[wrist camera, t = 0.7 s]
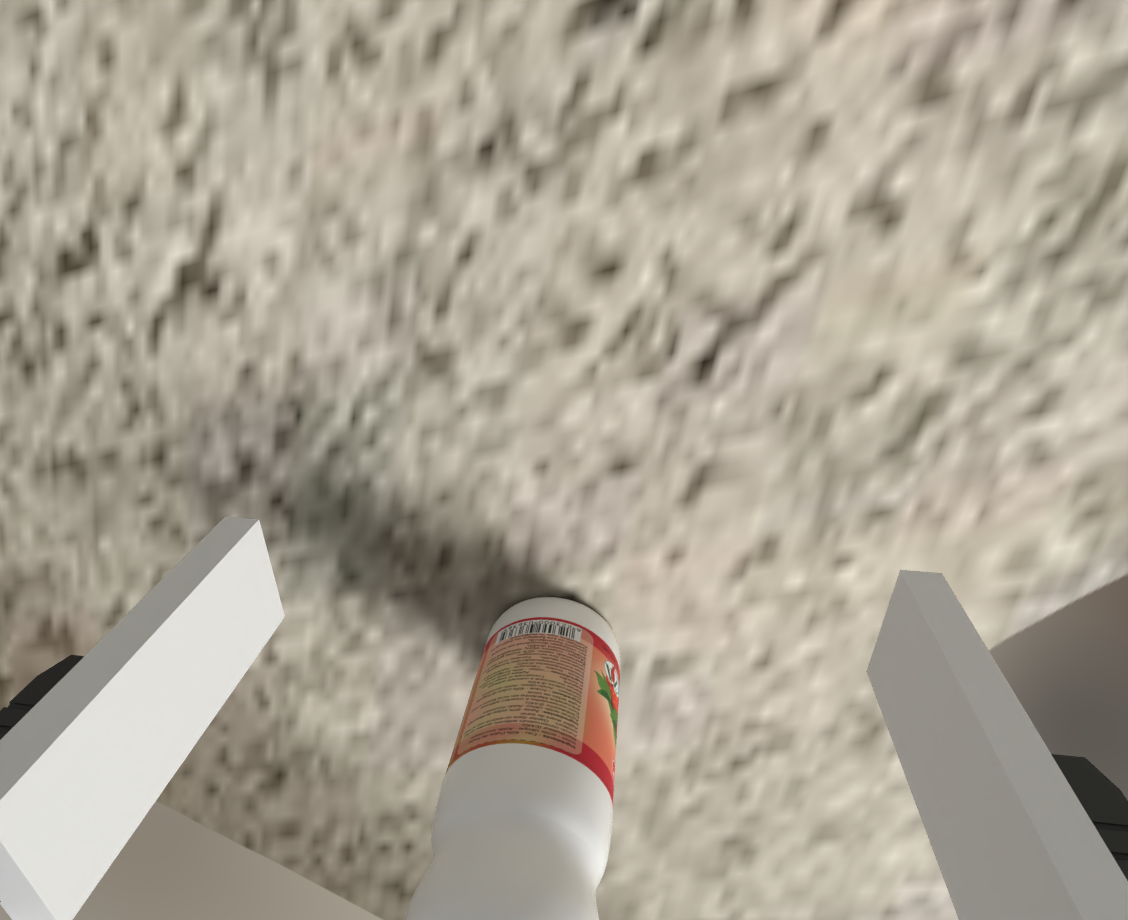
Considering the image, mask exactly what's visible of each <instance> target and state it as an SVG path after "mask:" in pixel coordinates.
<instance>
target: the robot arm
mask: <svg viewBox="0 0 1128 920" xmlns="http://www.w3.org/2000/svg"><path fill="white" fill-rule="evenodd" d="M284 617H285V616H284V612H283V608H282V604H281V601H280V597H279V593H278V589H277V585H276V582H275V578H274V574H273V570H272V566H271V563H270V559H269V555H268V551H267V547H266V544H265V540H264V536H263V532H262V528H261V525H260V521H259V519H249V518H237V517H224V518H223V519H222V520H221V521H220V522H219V523H218V524H217V525H216V526H215V527H214V528H213V529H212V530H211V531H210V532H209V533H208V534H207V535H206V536H205V537H204V538H203V539H202V540H201V541H200V542H199V543H198V544H197V545H196V546H195V547H194V548H193V549H192V550H191V551H190V552H189V553H188V554H187V555H186V556H185V557H184V558H183V559H182V560H181V561H180V562H179V563H178V564H177V565H176V566H175V567H174V568H173V569H172V570H171V571H170V572H169V573H168V574H167V575H166V576H165V577H164V578H163V579H162V580H161V581H160V582H159V583H158V584H157V585H156V586H155V587H154V588H153V589H152V590H151V591H150V592H149V593H148V594H147V595H146V596H145V597H144V598H143V599H142V600H141V601H140V602H139V603H138V604H137V605H136V606H135V607H134V608H133V609H132V610H131V611H130V612H129V613H128V614H127V615H126V616H125V617H124V618H123V619H122V620H121V621H120V622H119V623H118V624H117V625H116V626H115V627H114V628H113V629H112V630H111V631H110V632H109V633H108V634H106V635H105V636H104V637H103V638H102V639H101V640H100V641H99V642H98V643H97V644H96V645H95V646H94V647H93V648H92V649H91V650H90V651H89V652H88V653H87V654H86V655H85V656H77V655H70V656H69V657H67V658H65V659H64V660H62V661H61V662H59V663H57V664H56V665H54V666H53V667H51V668H49V669H48V670H46V671H45V672H43V673H41V674H40V675H38V676H37V677H36V678H35V679H33V680H32V681H31V682H30V683H29V684H28V685H27V686H26V687H25V688H24V689H23V690H22V691H21V692H20V693H19V694H18V695H17V696H16V697H14V698H13V699H12V700H11V701H10V705H9V706H8V707H7V708H5V707H4V708H3V709H2V710H1V711H0V904H1V905H2V907H3V908H4V909H5V911H6V912H7V913H8V915H9V916H10V917H11V919H12V920H73V918H74V917H75V915H76V913H77V912H78V911H79V910H80V908H81V907H82V905H83V904H84V902H85V901H86V900H87V898H88V897H89V895H90V894H91V892H92V891H93V890H94V888H95V887H96V885H97V884H98V882H99V881H100V879H101V878H102V877H103V875H104V874H105V872H106V871H107V870H108V868H109V867H110V865H111V864H112V862H113V861H114V860H115V858H116V857H117V855H118V854H119V852H120V851H121V850H122V848H123V847H124V845H125V844H126V843H127V841H128V840H129V838H130V837H131V835H132V834H133V832H134V831H135V830H136V828H137V827H138V825H139V824H140V823H141V821H142V820H143V818H144V817H145V815H146V814H147V813H148V811H149V810H150V808H151V807H152V805H153V804H154V803H155V801H156V800H157V798H158V797H159V795H160V794H161V793H162V791H163V790H164V788H165V787H166V785H167V784H168V783H169V781H170V780H171V778H172V777H173V775H174V774H175V773H176V771H177V770H178V768H179V767H180V765H181V764H182V763H183V761H184V760H185V758H186V757H187V755H188V754H189V753H190V751H191V750H192V748H193V747H194V745H195V744H196V743H197V741H198V740H199V738H200V737H201V735H202V734H203V733H204V731H205V730H206V728H207V727H208V725H209V724H210V723H211V721H212V720H213V718H214V717H215V716H216V714H217V713H218V711H219V710H220V708H221V707H222V706H223V704H224V703H225V701H226V700H227V698H228V697H229V696H230V694H231V693H232V691H233V690H234V688H235V687H236V686H237V684H238V683H239V681H240V680H241V678H242V677H243V676H244V674H245V673H246V671H247V670H248V668H249V667H250V666H251V664H252V663H253V661H254V660H255V658H256V657H257V656H258V654H259V653H260V651H261V650H262V648H263V647H264V646H265V644H266V643H267V641H268V640H269V638H270V637H271V636H272V634H273V633H274V631H275V630H276V628H277V627H278V626H279V624H280V623H281V621H282V620H283V618H284ZM867 674H868V676H869V679H870V682H871V684H872V687H873V690H874V692H875V695H876V698H877V700H878V703H879V706H880V709H881V711H882V714H883V717H884V719H885V722H886V725H887V727H888V730H889V733H890V735H891V738H892V741H893V743H894V746H895V749H896V752H897V754H898V757H899V760H900V762H901V765H902V768H903V770H904V773H905V776H906V778H907V781H908V784H909V787H910V789H911V792H912V795H913V797H914V800H915V803H916V805H917V808H918V811H919V813H920V816H921V819H922V822H923V824H924V827H925V830H926V832H927V835H928V838H929V840H930V843H931V846H932V848H933V851H934V854H935V856H936V859H937V862H938V865H939V867H940V870H941V873H942V875H943V878H944V881H945V883H946V886H947V889H948V891H949V894H950V897H951V900H952V902H953V905H954V908H955V910H956V913H957V916H958V918H959V920H1128V801H1127V799H1126V798H1125V796H1124V795H1123V793H1122V792H1121V790H1120V789H1119V788H1117V787H1116V786H1115V785H1114V784H1113V783H1112V782H1111V781H1110V780H1109V779H1108V778H1107V777H1106V776H1104V775H1103V774H1102V773H1101V772H1100V771H1099V770H1098V769H1097V768H1096V767H1095V766H1094V765H1093V764H1091V763H1090V762H1089V761H1088V760H1087V759H1086V758H1084V757H1074V756H1064V755H1054V754H1051V753H1050V752H1049V750H1048V748H1047V747H1046V745H1045V744H1044V742H1043V740H1042V738H1041V737H1040V735H1039V733H1038V732H1037V730H1036V728H1035V727H1034V725H1033V723H1032V722H1031V720H1030V719H1029V717H1028V715H1027V713H1026V712H1025V710H1024V709H1023V707H1022V705H1021V704H1020V702H1019V700H1018V699H1017V697H1016V695H1015V694H1014V692H1013V690H1012V689H1011V687H1010V685H1009V684H1008V682H1007V680H1006V679H1005V677H1004V675H1003V674H1002V672H1001V671H1000V669H999V667H998V666H997V664H996V662H995V661H994V659H993V657H992V656H991V654H990V652H989V651H988V649H987V647H986V646H985V644H984V642H983V641H982V639H981V637H980V636H979V634H978V632H977V631H976V629H975V627H974V626H973V624H972V622H971V621H970V619H969V617H968V616H967V614H966V613H965V611H964V609H963V608H962V606H961V604H960V603H959V601H958V599H957V598H956V596H955V594H954V593H953V591H952V589H951V588H950V586H949V584H948V583H947V581H946V579H945V578H944V576H943V574H942V573H932V572H920V571H907V570H900V573H899V576H898V579H897V582H896V585H895V588H894V591H893V594H892V597H891V600H890V603H889V606H888V609H887V612H886V615H885V618H884V621H883V624H882V627H881V630H880V633H879V636H878V639H877V642H876V645H875V648H874V651H873V654H872V657H871V660H870V663H869V666H868V669H867Z"/></svg>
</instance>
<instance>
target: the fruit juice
mask: <svg viewBox="0 0 1128 920" xmlns="http://www.w3.org/2000/svg"><path fill="white" fill-rule="evenodd" d="M620 663H621V661H620V651H619V645H618V642H617V639H616V636H615V634H614V632H613V630H612V629H611V627H610V626H609V624H608V623H607V622H606V621H605V620H604V619H603V618H602V617H601V616H600V615H599V614H598V613H596V612H595V611H593V610H592V609H590V608H589V607H587V606H585V605H583V604H580V603H578V602H575V601H572V600H568V599H564V598H558V597H538V598H532V599H528V600H525V601H522V602H520V603H517V604H515V605H514V606H512V607H510V608H509V609H508V610H506V611H505V612H504V613H503V614H502V615H501V616H500V617H499V618H498V620H497V621H496V622H495V624H494V626H493V628H492V630H491V632H490V634H489V636H488V639H487V642H486V645H485V649H484V652H483V655H482V658H481V662H480V665H479V668H478V671H477V674H476V678H475V681H474V684H473V687H472V691H471V694H470V697H469V700H468V704H467V707H466V710H465V713H464V717H463V720H462V723H461V726H460V730H459V733H458V736H457V739H456V743H455V746H454V749H453V752H452V756H451V759H450V762H449V765H448V768H447V771H446V774H445V777H444V780H443V783H442V786H441V790H440V794H439V798H438V802H437V806H436V810H435V815H434V820H433V826H432V838H431V840H432V851H433V859H432V862H431V865H430V867H429V869H428V870H427V872H426V874H425V875H424V877H423V879H422V880H421V882H420V884H419V885H418V887H417V889H416V891H415V893H414V895H413V897H412V899H411V901H410V904H409V906H408V908H407V911H406V915H405V919H404V920H599V917H598V911H597V906H596V900H595V892H596V888H597V886H598V884H599V882H600V880H601V878H602V876H603V874H604V871H605V868H606V864H607V859H608V854H609V847H610V839H611V830H612V820H613V792H614V774H615V756H616V738H617V719H618V701H619V682H620Z"/></svg>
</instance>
